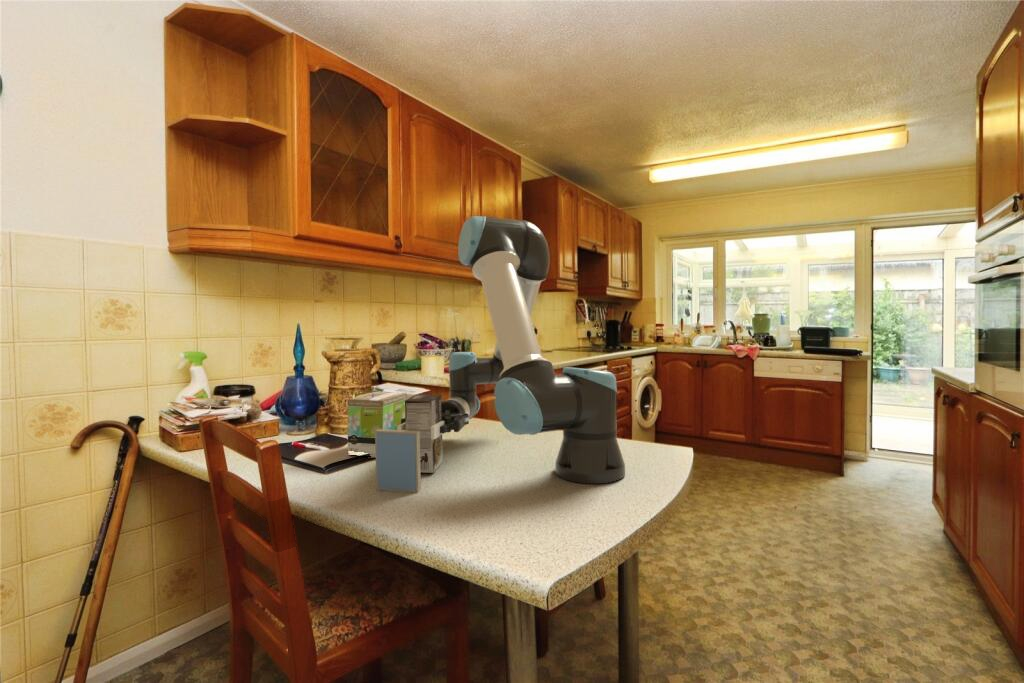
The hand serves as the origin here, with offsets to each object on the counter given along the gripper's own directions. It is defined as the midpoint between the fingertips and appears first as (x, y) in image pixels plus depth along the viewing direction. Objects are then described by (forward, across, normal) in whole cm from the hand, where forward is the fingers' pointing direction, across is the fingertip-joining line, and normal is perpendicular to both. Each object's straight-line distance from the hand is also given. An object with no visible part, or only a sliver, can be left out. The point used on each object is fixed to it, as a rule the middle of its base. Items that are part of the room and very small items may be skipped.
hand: (415, 432), depth 106 cm
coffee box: (-5, 0, -9) cm, 10 cm away
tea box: (-19, +19, -10) cm, 29 cm away
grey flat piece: (+9, 0, -10) cm, 13 cm away
